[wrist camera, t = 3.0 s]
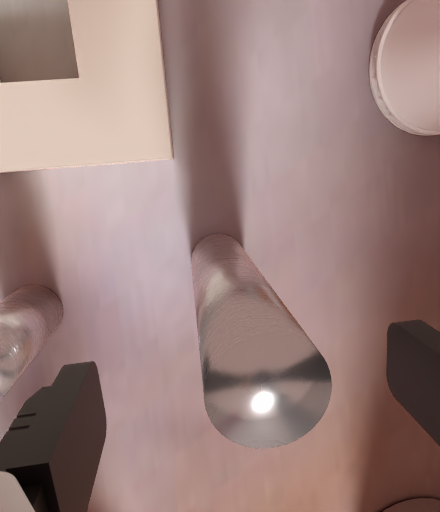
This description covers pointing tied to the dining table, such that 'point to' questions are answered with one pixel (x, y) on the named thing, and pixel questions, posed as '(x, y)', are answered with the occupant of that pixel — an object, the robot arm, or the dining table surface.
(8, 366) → the short pin
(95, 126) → the socket block
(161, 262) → the dining table surface
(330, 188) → the dining table surface
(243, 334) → the tall pin
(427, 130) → the vase
